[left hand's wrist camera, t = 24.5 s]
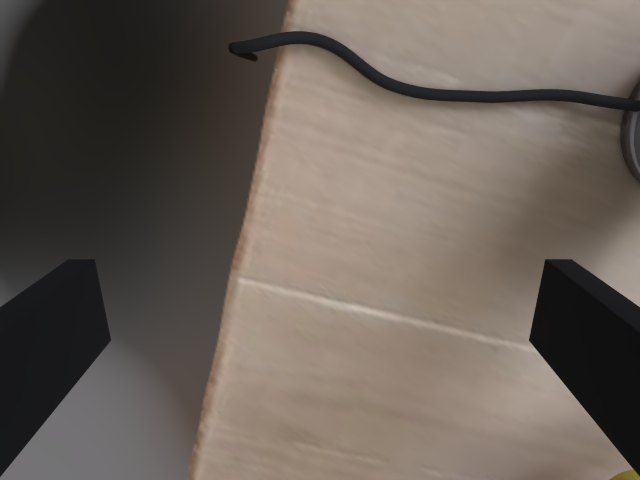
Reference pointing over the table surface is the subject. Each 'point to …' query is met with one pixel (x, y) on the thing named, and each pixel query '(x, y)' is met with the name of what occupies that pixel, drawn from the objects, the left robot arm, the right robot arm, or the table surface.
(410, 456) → the table surface
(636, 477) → the canister
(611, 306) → the left robot arm
